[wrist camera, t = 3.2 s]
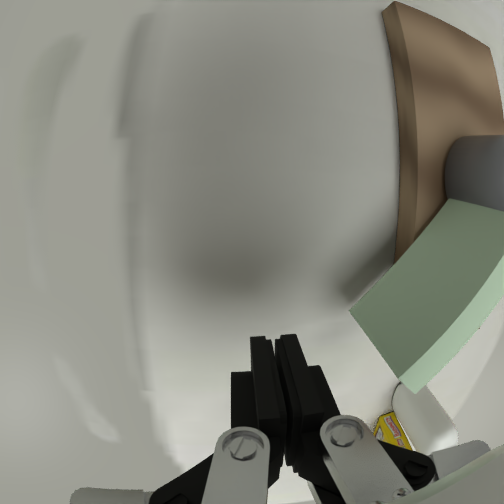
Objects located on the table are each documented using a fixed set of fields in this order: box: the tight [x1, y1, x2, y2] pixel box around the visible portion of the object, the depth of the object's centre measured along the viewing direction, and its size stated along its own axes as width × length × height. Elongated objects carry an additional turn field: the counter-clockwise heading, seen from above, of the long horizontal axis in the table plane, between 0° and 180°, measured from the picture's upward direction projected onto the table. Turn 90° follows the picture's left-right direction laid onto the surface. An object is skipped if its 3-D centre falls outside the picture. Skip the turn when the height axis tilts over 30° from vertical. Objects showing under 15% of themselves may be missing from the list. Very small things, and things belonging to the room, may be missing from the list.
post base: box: [382, 1, 504, 329], centre depth 14 cm, size 24×10×2 cm, turn 1°
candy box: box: [373, 412, 413, 451], centre depth 20 cm, size 16×2×8 cm, turn 5°
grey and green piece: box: [349, 135, 504, 394], centre depth 11 cm, size 15×6×7 cm, turn 136°
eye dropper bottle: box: [392, 383, 458, 455], centre depth 15 cm, size 4×6×12 cm
